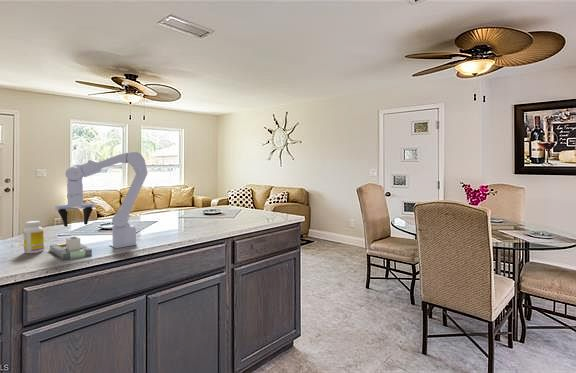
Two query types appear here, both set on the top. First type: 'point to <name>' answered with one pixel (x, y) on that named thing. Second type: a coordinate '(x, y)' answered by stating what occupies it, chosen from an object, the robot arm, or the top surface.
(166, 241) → the top surface
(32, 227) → the supplement bottle
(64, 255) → the panel
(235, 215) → the top surface
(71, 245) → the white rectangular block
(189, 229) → the top surface
